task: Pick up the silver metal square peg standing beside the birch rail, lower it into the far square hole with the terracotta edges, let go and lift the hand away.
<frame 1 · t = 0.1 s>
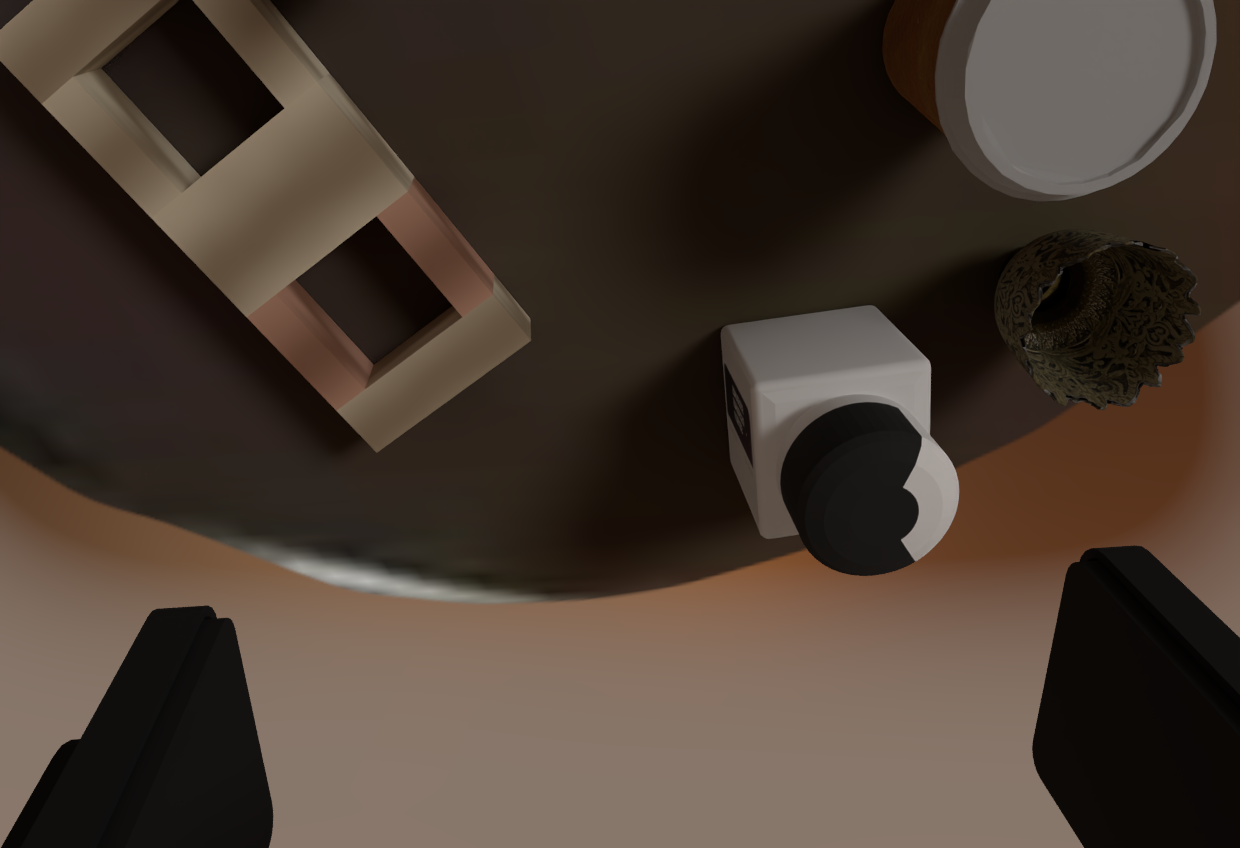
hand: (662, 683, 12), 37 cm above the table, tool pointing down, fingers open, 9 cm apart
container: (799, 383, 51), on the table
cup: (1026, 274, 50), on the table
disposable coffee cup: (950, 37, 45), on the table
rail: (294, 189, 45), on the table
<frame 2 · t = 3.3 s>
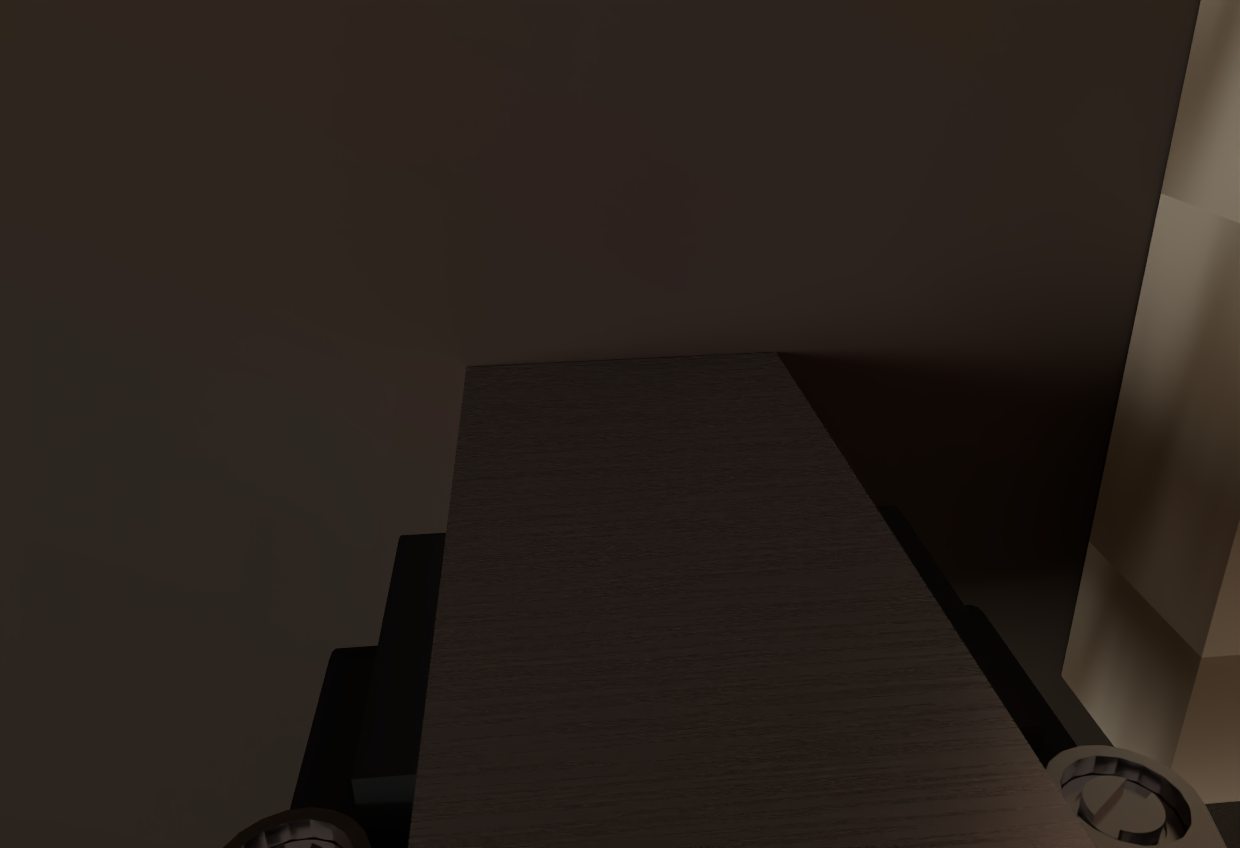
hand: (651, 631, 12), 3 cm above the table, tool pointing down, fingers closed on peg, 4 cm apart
peg: (625, 496, 15), on the table, touching gripper
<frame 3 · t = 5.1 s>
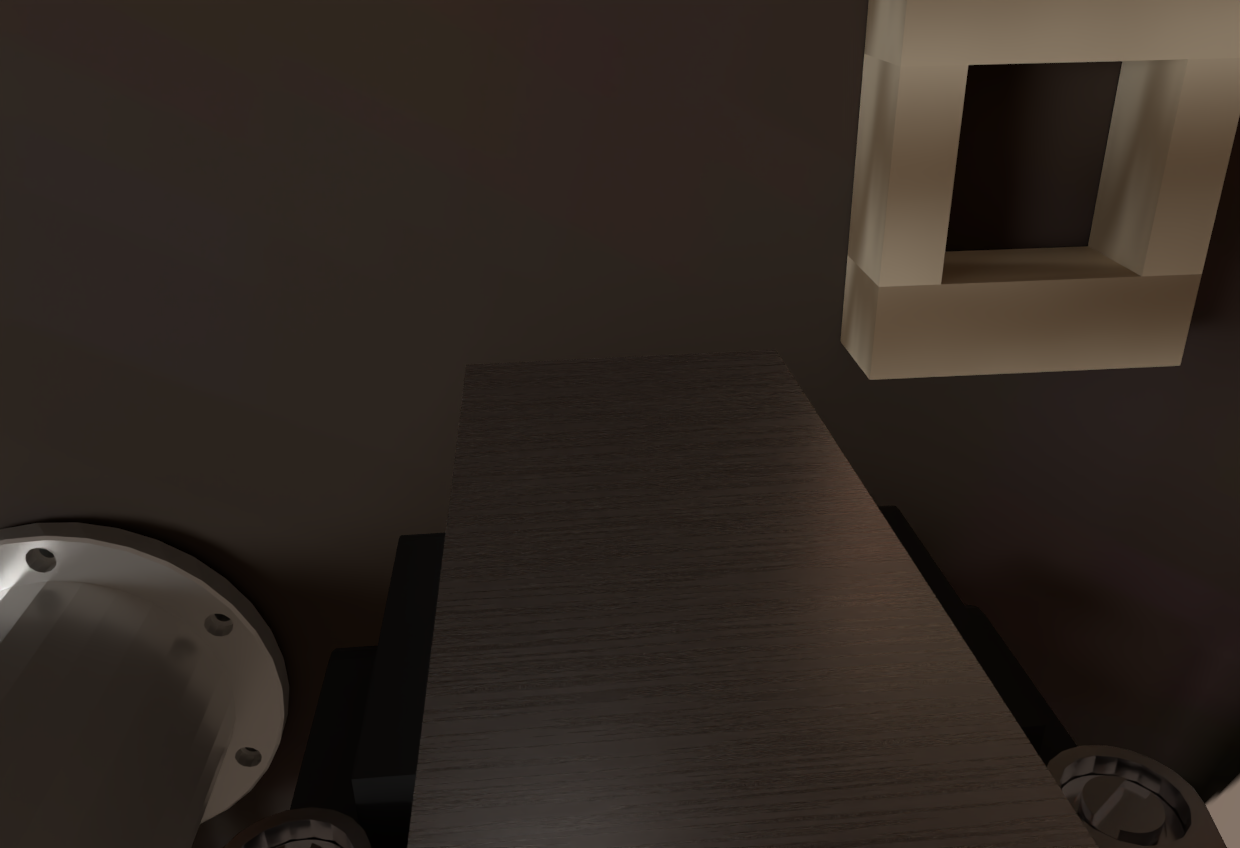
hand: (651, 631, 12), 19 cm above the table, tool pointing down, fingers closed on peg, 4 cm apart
peg: (624, 493, 15), point 15 cm above the table, touching gripper
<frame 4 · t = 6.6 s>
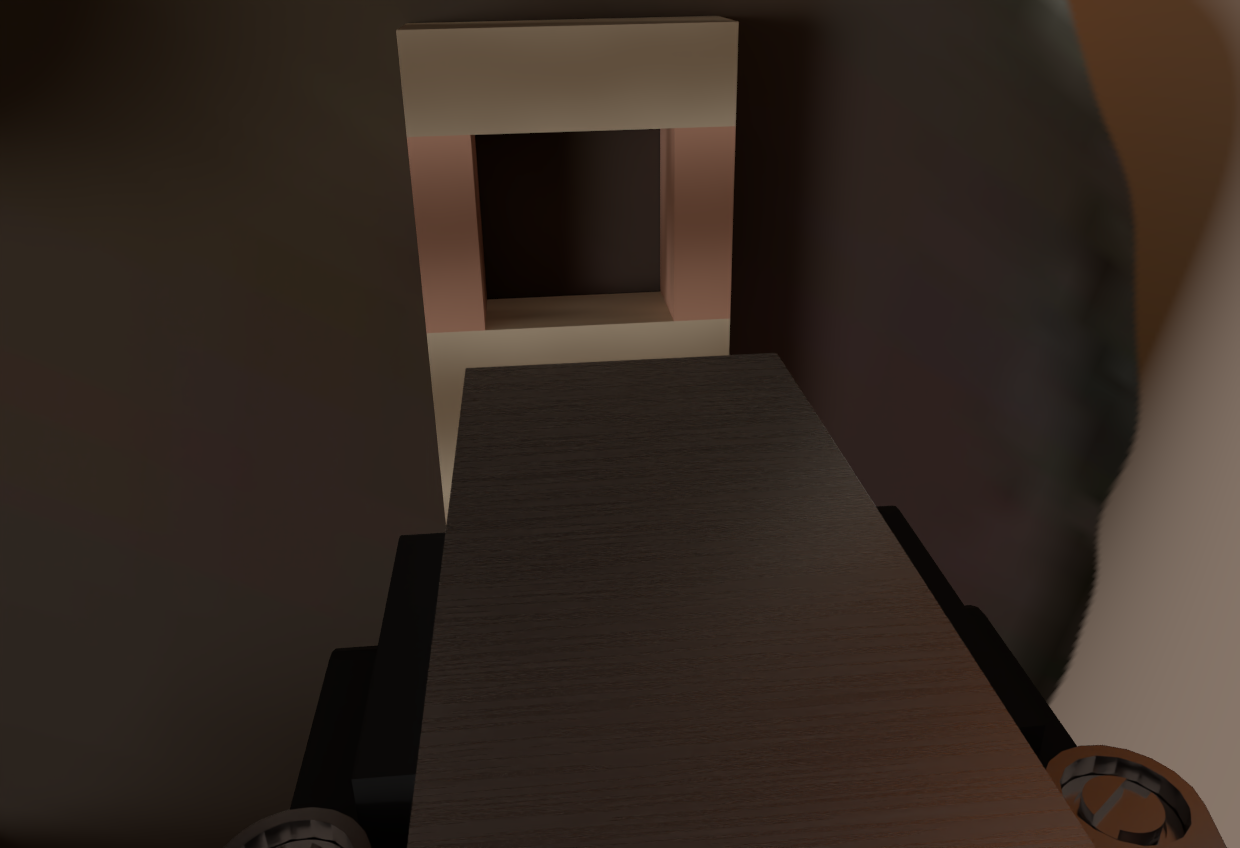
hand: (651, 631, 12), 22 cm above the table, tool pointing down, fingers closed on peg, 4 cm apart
peg: (625, 497, 15), point 18 cm above the table, touching gripper
rail: (577, 373, 34), on the table
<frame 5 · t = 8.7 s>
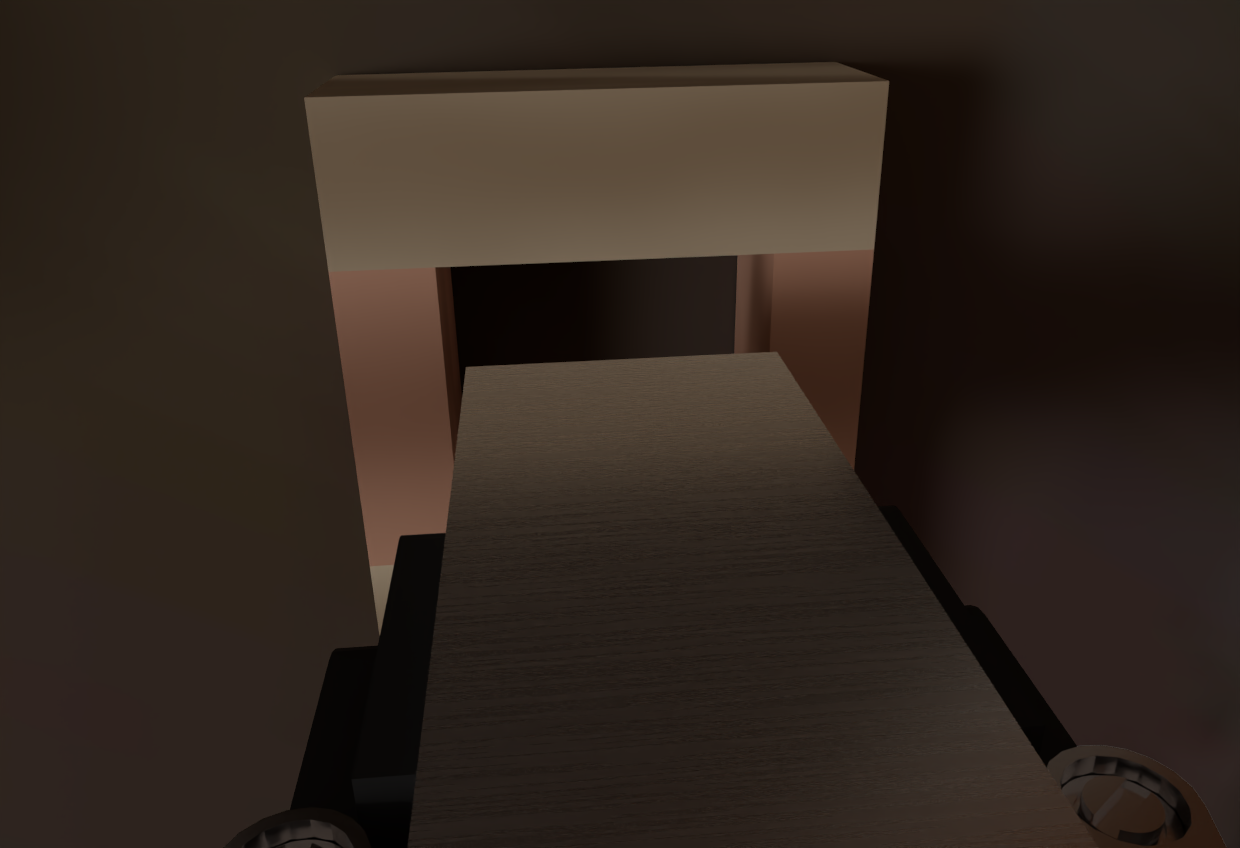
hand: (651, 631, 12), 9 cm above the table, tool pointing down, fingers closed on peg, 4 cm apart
peg: (625, 496, 15), point 6 cm above the table, touching gripper
rail: (604, 582, 23), on the table
when the fingers open (4 cm above the table, at t = 10.1 s): peg drops 1 cm, resting in rail.
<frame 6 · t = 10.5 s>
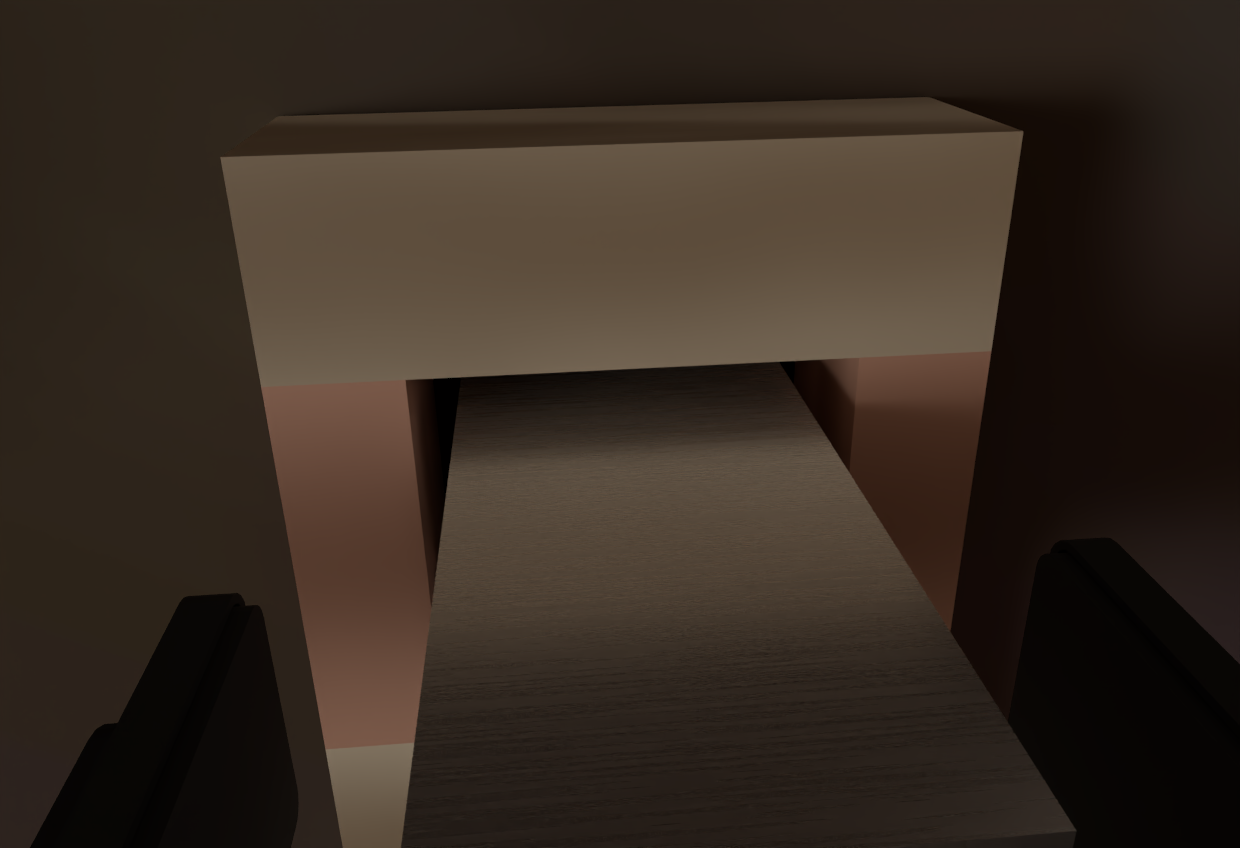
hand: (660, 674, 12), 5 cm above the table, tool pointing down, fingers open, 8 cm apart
peg: (614, 459, 17), resting in rail
rail: (623, 728, 19), on the table
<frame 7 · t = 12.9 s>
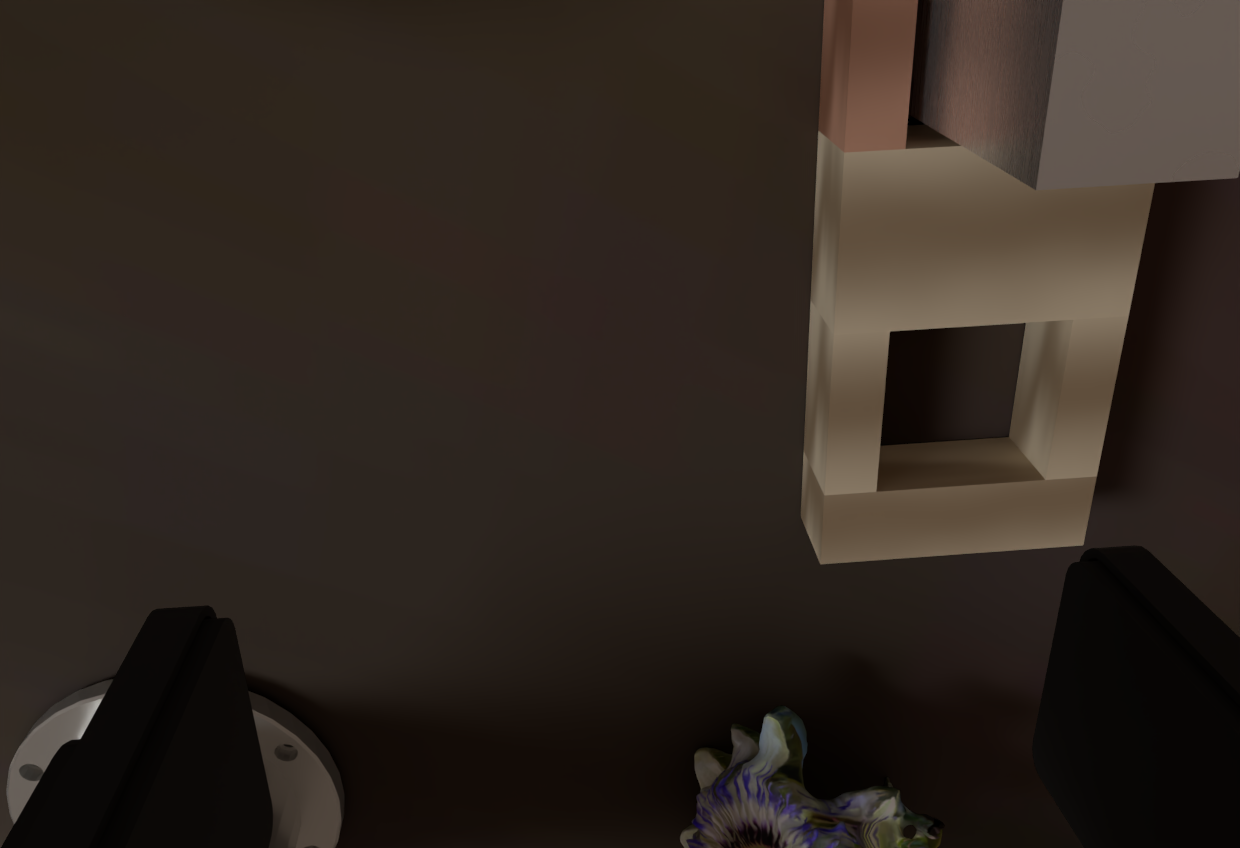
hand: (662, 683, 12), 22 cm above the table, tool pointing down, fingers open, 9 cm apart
peg: (974, 22, 30), resting in rail
rail: (956, 210, 32), on the table
passion flower: (798, 771, 43), on the table
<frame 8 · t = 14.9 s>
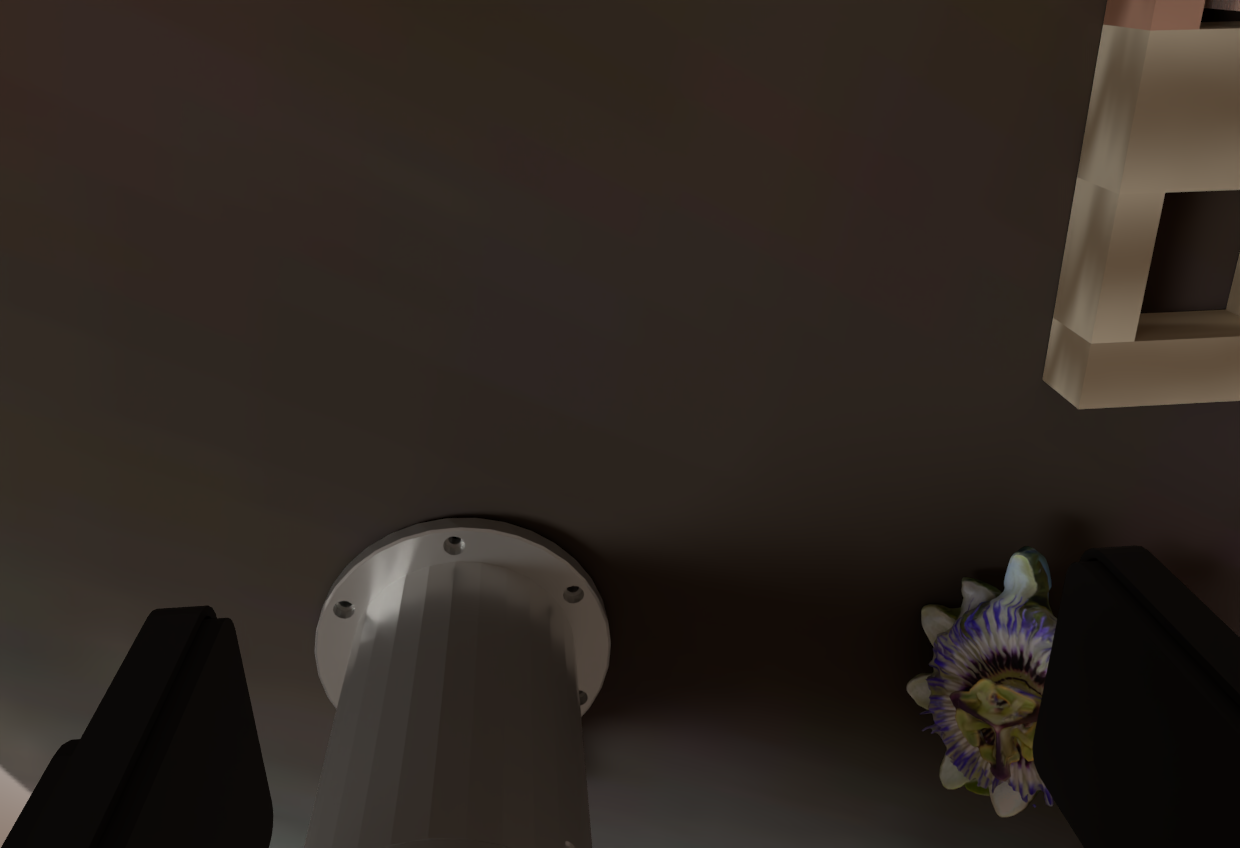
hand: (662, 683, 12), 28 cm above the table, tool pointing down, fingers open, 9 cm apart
rail: (1206, 99, 38), on the table
passion flower: (1006, 632, 48), on the table
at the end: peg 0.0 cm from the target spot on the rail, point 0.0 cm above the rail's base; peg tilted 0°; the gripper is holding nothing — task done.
